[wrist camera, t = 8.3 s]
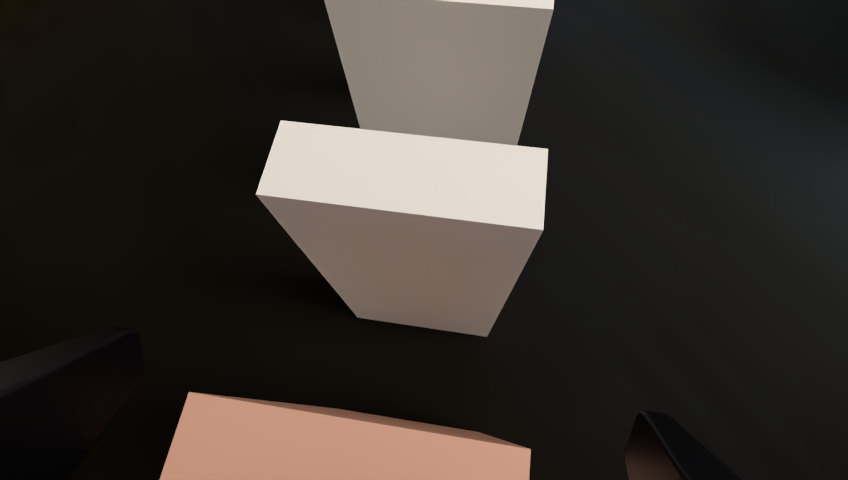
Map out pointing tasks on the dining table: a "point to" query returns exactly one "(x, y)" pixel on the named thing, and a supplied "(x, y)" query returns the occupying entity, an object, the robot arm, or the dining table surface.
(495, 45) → the domino
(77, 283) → the dining table surface
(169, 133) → the dining table surface
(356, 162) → the domino
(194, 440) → the domino
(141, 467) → the dining table surface
